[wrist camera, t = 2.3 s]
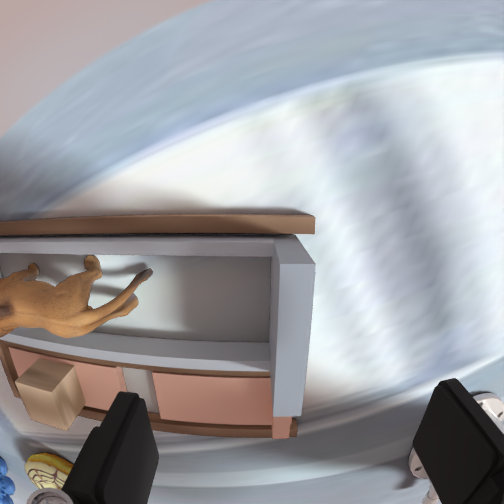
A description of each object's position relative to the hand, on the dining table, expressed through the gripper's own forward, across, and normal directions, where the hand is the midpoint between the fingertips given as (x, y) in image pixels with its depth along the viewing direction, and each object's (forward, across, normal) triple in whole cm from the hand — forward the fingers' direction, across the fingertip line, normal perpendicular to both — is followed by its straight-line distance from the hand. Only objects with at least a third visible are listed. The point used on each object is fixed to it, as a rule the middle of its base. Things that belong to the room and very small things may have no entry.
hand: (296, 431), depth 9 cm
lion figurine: (+13, +15, +1) cm, 20 cm away
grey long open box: (+13, +11, +1) cm, 17 cm away
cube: (+12, +18, +9) cm, 23 cm away
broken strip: (+13, +11, +9) cm, 19 cm away
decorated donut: (+13, +24, +27) cm, 39 cm away
